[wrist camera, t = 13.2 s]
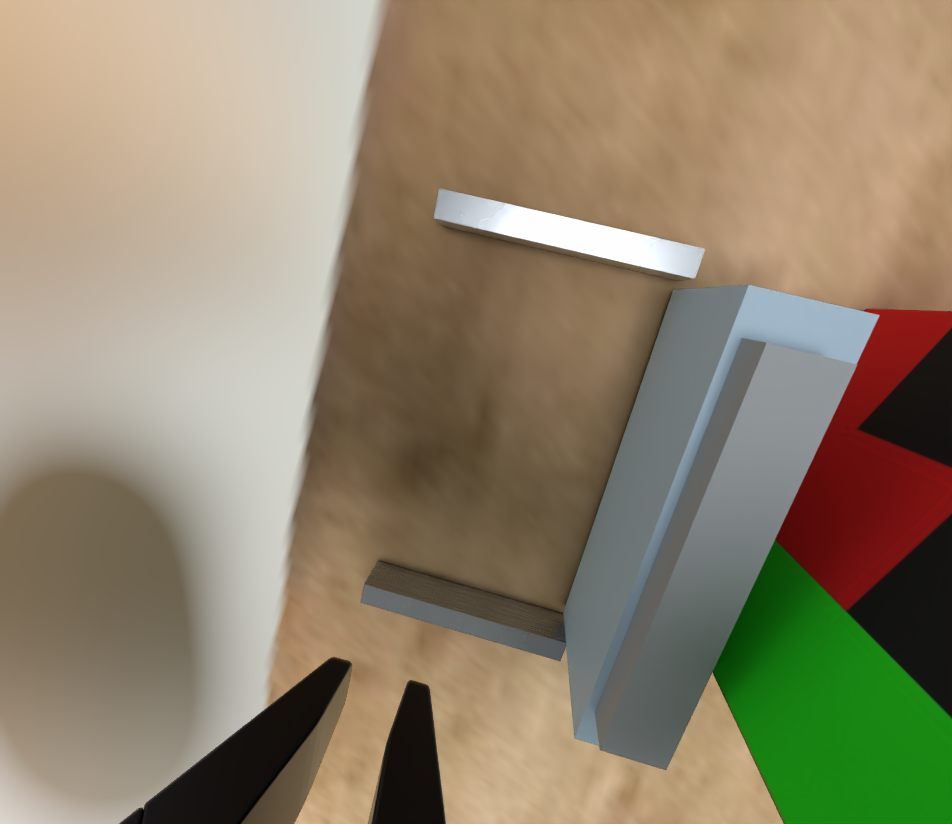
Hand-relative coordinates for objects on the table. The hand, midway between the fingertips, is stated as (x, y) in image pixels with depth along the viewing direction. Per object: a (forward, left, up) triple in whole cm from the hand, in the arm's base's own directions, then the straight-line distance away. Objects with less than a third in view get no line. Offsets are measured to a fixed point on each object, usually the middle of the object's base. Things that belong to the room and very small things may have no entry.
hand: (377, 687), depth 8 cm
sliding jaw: (+3, -6, -8) cm, 11 cm away
